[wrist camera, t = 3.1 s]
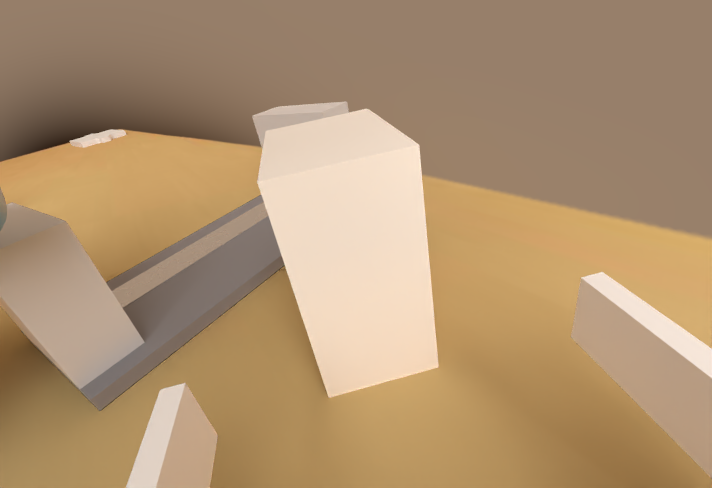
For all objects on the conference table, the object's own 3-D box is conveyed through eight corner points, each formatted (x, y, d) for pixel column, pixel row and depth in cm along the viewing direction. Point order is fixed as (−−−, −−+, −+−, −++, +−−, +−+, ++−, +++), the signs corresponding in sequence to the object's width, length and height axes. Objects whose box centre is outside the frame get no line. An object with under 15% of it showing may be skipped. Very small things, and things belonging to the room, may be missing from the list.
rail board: (99, 411, 21) (89, 399, 20) (28, 340, 28) (20, 330, 27) (374, 194, 41) (372, 185, 40) (291, 185, 48) (289, 178, 47)
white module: (328, 398, 19) (257, 182, 13) (314, 293, 27) (265, 130, 21) (438, 367, 19) (418, 144, 13) (391, 272, 27) (366, 107, 21)
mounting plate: (70, 146, 121) (67, 140, 120) (111, 134, 129) (108, 129, 128) (86, 149, 110) (83, 143, 109) (129, 136, 118) (126, 130, 117)
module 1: (79, 389, 21) (-30, 261, 17) (25, 335, 27) (-67, 229, 22) (144, 342, 24) (65, 220, 19) (82, 302, 29) (11, 202, 25)
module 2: (340, 200, 38) (322, 112, 34) (274, 192, 44) (250, 115, 40) (361, 185, 41) (346, 101, 36) (296, 179, 47) (276, 106, 42)
